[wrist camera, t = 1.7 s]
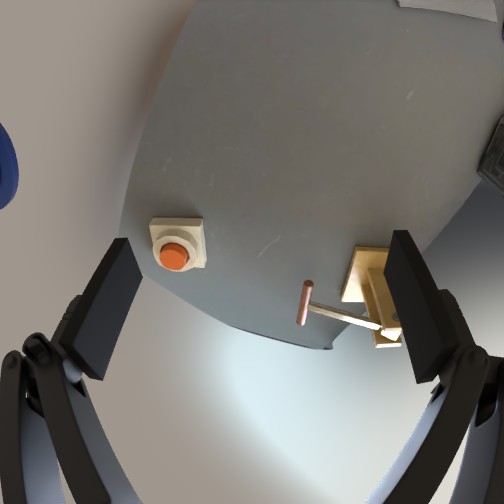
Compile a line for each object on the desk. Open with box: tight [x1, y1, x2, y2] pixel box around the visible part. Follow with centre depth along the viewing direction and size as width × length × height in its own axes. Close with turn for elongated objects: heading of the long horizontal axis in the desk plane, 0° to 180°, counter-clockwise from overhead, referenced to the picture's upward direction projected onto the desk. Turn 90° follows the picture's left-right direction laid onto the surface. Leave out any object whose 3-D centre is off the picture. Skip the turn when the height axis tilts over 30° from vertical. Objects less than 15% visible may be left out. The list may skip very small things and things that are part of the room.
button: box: [160, 243, 188, 270], centre depth 44 cm, size 4×4×2 cm
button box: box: [149, 217, 207, 272], centre depth 46 cm, size 8×8×4 cm
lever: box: [296, 280, 401, 340], centre depth 43 cm, size 16×9×2 cm, turn 90°
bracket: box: [341, 246, 402, 348], centre depth 45 cm, size 10×12×14 cm
